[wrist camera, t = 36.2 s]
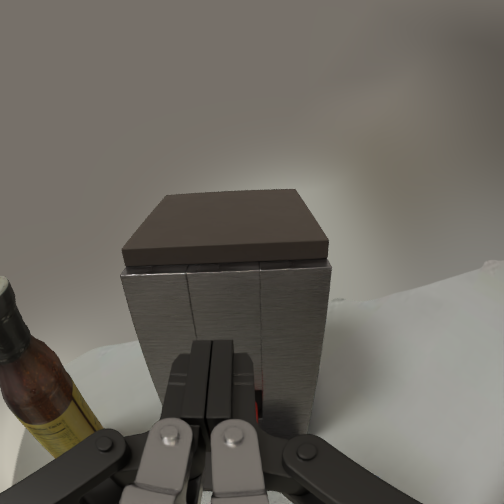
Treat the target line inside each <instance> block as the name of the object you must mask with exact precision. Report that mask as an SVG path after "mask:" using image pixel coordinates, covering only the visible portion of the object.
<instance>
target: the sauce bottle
mask: <svg viewBox="0 0 504 504" xmlns="http://www.w3.org/2000/svg"><path fill="white" fill-rule="evenodd" d="M15 302H16V301H15V294H14V292H13V289H12V287H11V285H10V283H9V280H8V279H7V278H5V277H3V276H0V388H1V392H2V396H3V399H4V400H5V402H6V404H7V406H8V407H9V409H10V410H11V411H12V412H13V413H14V415H15V416H16V417H17V418H18V419H19V421H20V422H21V423H22V424H23V425H24V426H25V427H26V429H27V430H28V431H29V432H30V433H31V434H32V435H33V436H34V437H35V438H36V439H37V440H38V442H39V443H40V444H41V445H42V446H43V447H44V448H45V449H46V450H47V451H48V452H49V453H50V454H51V455H52V456H53V457H54V458H55V459H56V458H57V457H59V456H60V455H62V454H63V453H65V452H66V451H68V450H69V449H71V448H72V447H74V446H75V445H77V444H78V443H80V442H81V441H83V440H84V439H85V438H87V437H88V436H90V435H91V434H93V433H94V432H96V431H98V430H100V429H104V428H103V426H102V425H101V424H100V422H99V421H98V419H97V418H96V416H95V415H94V413H93V412H92V411H91V409H90V408H89V406H88V405H87V403H86V401H85V400H84V398H83V397H82V395H81V393H80V392H79V390H78V388H77V387H76V385H75V384H74V382H73V380H72V378H71V377H70V375H69V374H68V373H67V372H66V371H65V369H64V367H63V365H62V363H61V362H60V359H59V358H58V356H57V355H56V354H55V352H54V351H52V350H51V349H50V348H49V347H48V346H47V345H46V344H45V343H44V342H42V341H40V340H38V339H36V338H34V337H33V336H32V335H31V334H30V331H29V329H28V327H27V325H25V323H24V321H23V319H22V316H21V314H20V313H19V310H18V308H17V306H16V303H15Z"/></svg>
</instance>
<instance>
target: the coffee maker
mask: <svg viewBox="0 0 504 504" xmlns="http://www.w3.org/2000/svg"><path fill="white" fill-rule="evenodd" d="M328 245H329V240H328V238H327V237H326V235H325V233H324V232H323V230H322V229H321V227H320V226H319V224H318V222H317V221H316V220H315V218H314V216H313V215H312V213H311V212H310V210H309V209H308V207H307V206H306V204H305V203H304V201H303V200H302V199H301V197H300V195H299V194H298V193H297V191H296V190H295V189H276V190H275V189H273V190H245V191H224V192H205V193H191V194H176V195H166V196H165V197H164V199H163V200H162V201H161V202H160V203H159V204H158V206H157V207H156V208H155V209H154V210H153V211H152V212H151V214H150V215H149V216H148V217H147V218H146V219H145V221H144V222H143V223H142V224H141V226H140V227H139V228H138V229H137V230H136V232H135V233H134V234H133V235H132V237H131V238H130V239H129V240H128V241H127V243H126V244H125V245H124V247H123V248H122V254H123V258H124V263H125V266H126V268H125V269H124V270H123V272H122V273H121V275H120V277H121V281H122V285H123V289H124V292H125V296H126V300H127V303H128V307H129V310H130V313H131V317H132V321H133V324H134V327H135V330H136V334H137V337H138V340H139V343H140V346H141V349H142V352H143V355H144V358H145V361H146V364H147V366H148V369H149V372H150V375H151V377H152V380H153V383H154V386H155V388H156V391H157V393H158V396H159V398H160V401H161V403H162V406H163V403H164V398H165V394H166V389H167V385H168V380H169V376H170V371H171V366H172V363H173V362H174V360H175V359H176V358H177V357H178V355H179V354H190V352H191V347H192V342H193V340H212V341H213V340H233V344H234V353H248V355H249V356H250V358H251V359H252V361H253V365H254V385H255V401H256V403H257V409H258V425H259V426H260V428H261V429H262V430H263V431H264V432H266V433H268V434H269V435H272V436H275V437H279V438H284V439H289V440H290V439H291V438H293V437H295V436H298V435H302V434H307V431H308V426H309V421H310V416H311V411H312V406H313V400H314V395H315V389H316V383H317V377H318V371H319V365H320V359H321V352H322V345H323V338H324V331H325V324H326V316H327V308H328V299H329V291H330V280H331V271H332V267H331V265H330V263H329V261H328V260H327V257H328ZM205 468H206V471H205V478H204V484H203V491H213V483H212V461H211V452H206V459H205ZM266 491H267V489H266Z"/></svg>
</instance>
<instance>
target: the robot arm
mask: <svg viewBox="0 0 504 504" xmlns="http://www.w3.org/2000/svg"><path fill="white" fill-rule="evenodd" d="M206 452H211V461H212V483H213V494H212V496H211V504H269V501H268V495H267V492H266V489H267V490H272V491H276V492H281V493H282V494H283V495H284V496H285V497H286V498H288V499H289V500H290V501H291V502H292V503H294V504H422V503H420V502H419V501H417V500H415V499H413V498H412V497H410V496H408V495H406V494H405V493H403V492H401V491H400V490H398V489H396V488H395V487H393V486H392V485H390V484H388V483H387V482H385V481H383V480H382V479H380V478H379V477H377V476H376V475H374V474H373V473H371V472H369V471H368V470H366V469H365V468H363V467H362V466H360V465H359V464H357V463H356V462H354V461H353V460H352V459H350V458H349V457H347V456H346V455H344V454H343V453H341V452H340V451H339V450H337V449H336V448H334V447H333V446H332V445H330V444H329V443H327V442H326V441H325V440H323V439H322V438H320V437H318V436H316V435H311V434H302V435H298V436H295V437H293V438H291V439H290V440H289V439H284V438H279V437H275V436H272V435H269V434H268V433H266V432H264V431H263V430H262V429H261V428H260V426H259V425H258V423H257V419H256V405H255V385H254V365H253V361H252V359H251V358H250V356H249V355H248V353H234V344H233V340H213V341H212V340H193V342H192V347H191V352H190V354H179V355H178V357H177V358H176V359H175V360H174V362H173V363H172V366H171V371H170V376H169V380H168V385H167V389H166V394H165V398H164V403H163V408H162V413H161V417H160V420H159V421H158V422H156V423H155V424H154V425H153V426H152V427H151V429H150V430H149V431H148V432H145V433H142V434H137V435H131V436H125V437H123V436H122V435H121V434H120V433H119V432H118V431H116V430H113V429H100V430H98V431H96V432H94V433H93V434H91V435H90V436H88V437H87V438H85V439H84V440H83V441H81V442H80V443H78V444H77V445H75V446H74V447H72V448H71V449H69V450H68V451H66V452H65V453H63V454H62V455H60V456H59V457H57V458H56V459H54V460H53V461H51V462H50V463H48V464H47V465H45V466H44V467H42V468H40V469H39V470H37V471H36V472H34V473H33V474H31V475H29V476H28V477H26V478H25V479H23V480H21V481H20V482H18V483H17V484H15V485H13V486H12V487H10V488H8V489H7V490H5V491H3V492H2V493H0V504H201V498H202V491H203V484H204V478H205V471H206V468H205V459H206Z"/></svg>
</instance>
